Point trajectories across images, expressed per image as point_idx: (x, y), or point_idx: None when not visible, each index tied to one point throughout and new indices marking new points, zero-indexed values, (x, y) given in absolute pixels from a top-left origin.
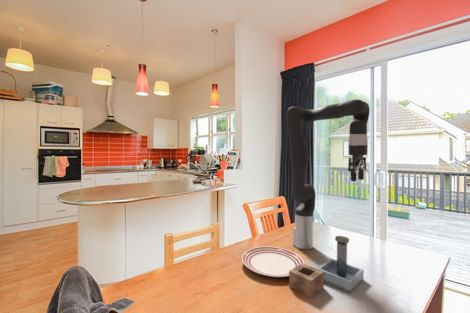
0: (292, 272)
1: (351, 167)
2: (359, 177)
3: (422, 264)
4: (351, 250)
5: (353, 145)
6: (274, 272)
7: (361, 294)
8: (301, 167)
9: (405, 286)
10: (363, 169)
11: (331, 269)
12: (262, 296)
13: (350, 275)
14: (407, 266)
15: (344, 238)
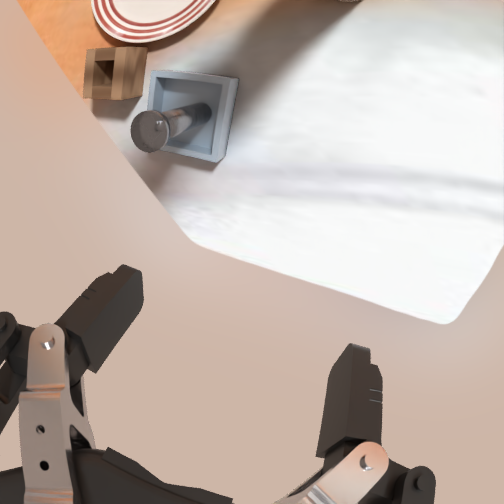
0: (86, 57)
1: (29, 389)
2: (344, 369)
3: (390, 280)
4: (407, 119)
5: None
6: (128, 1)
7: (166, 158)
8: None
9: (252, 231)
10: (305, 486)
11: (214, 85)
12: (70, 40)
13: (212, 131)
14: (363, 250)
15: (150, 138)
